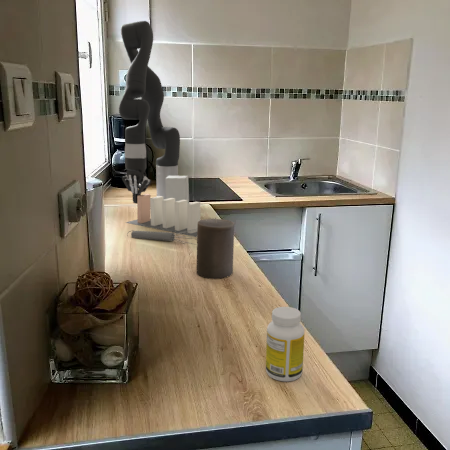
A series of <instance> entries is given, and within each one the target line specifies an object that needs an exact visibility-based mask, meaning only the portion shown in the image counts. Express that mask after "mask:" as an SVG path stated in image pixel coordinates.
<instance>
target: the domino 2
mask: <svg viewBox="0 0 450 450" xmlns="http://www.w3.org/2000/svg"><path fill="white" fill-rule="evenodd" d="M162 200H163V196H157V195H156V196H154V197H150V219H151V225H152V226H157V225H160V224H163V220H162Z"/></svg>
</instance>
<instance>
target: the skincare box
mask: <svg viewBox="0 0 450 450" xmlns="http://www.w3.org/2000/svg"><path fill="white" fill-rule="evenodd" d="M165 182H166V199H168V198H175V202H176V201H180V200H188V204H189V203H190V194H189V193H190V191H189V189H190V188H189V186H190V185H189V175H178V176H168V177H167V178H165Z"/></svg>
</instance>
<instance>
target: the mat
mask: <svg viewBox="0 0 450 450" xmlns="http://www.w3.org/2000/svg"><path fill="white" fill-rule="evenodd" d="M125 223H126V224H131V225H136V226H140V227H143V228H145V227H146V228H149V229H155V230H160V231H163V232H164V231H165V232H170V233H174V234H176V233H180V232H181V233H180V234H183V236H188V237H193V238H197V232H194V233H192V234H187V228H186V229H183V230H180V231H177V230H175V226H173V227H170V228H163V224H160V225H157V226H152V225H151V218H150V221H148V222H144V223H137V219H134V220H129V221H125ZM184 231H186V232H184ZM182 232H184V233H182Z"/></svg>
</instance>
